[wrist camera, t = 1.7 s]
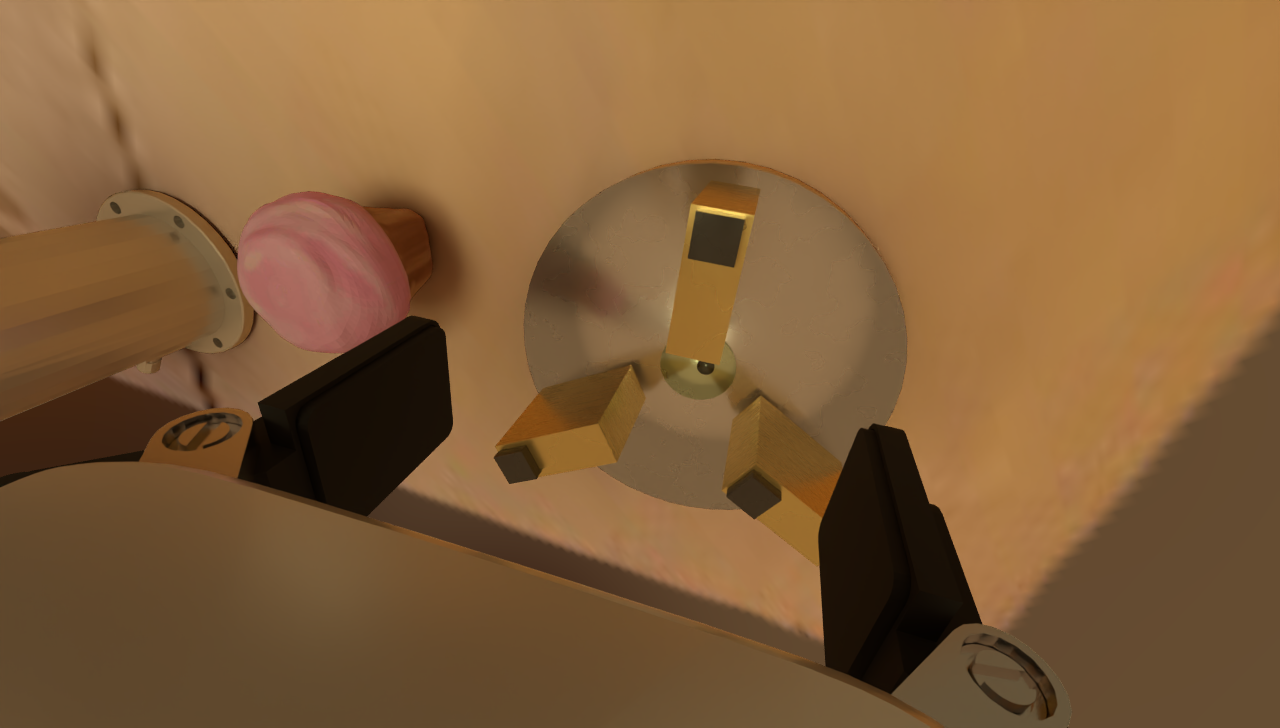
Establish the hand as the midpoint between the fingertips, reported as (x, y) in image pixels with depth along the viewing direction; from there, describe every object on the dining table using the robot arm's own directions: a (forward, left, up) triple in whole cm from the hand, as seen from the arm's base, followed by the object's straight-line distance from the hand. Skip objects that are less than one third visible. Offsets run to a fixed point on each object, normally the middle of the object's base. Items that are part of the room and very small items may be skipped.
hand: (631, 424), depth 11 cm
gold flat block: (-6, -11, -17) cm, 21 cm away
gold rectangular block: (0, 0, -17) cm, 17 cm away
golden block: (-12, 0, -17) cm, 21 cm away
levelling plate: (-6, -4, -19) cm, 20 cm away
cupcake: (-14, +15, -19) cm, 28 cm away
